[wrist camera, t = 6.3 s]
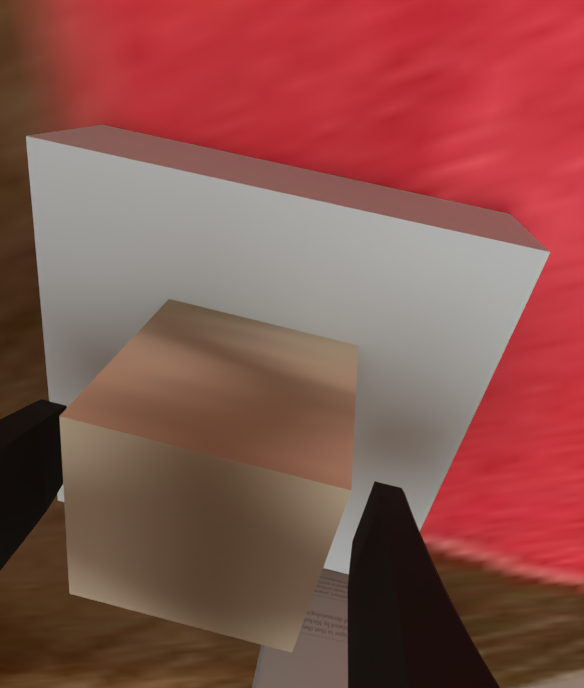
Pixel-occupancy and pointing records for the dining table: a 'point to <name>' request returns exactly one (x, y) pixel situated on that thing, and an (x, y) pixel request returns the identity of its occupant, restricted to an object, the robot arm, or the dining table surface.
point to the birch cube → (210, 472)
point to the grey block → (283, 283)
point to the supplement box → (313, 643)
